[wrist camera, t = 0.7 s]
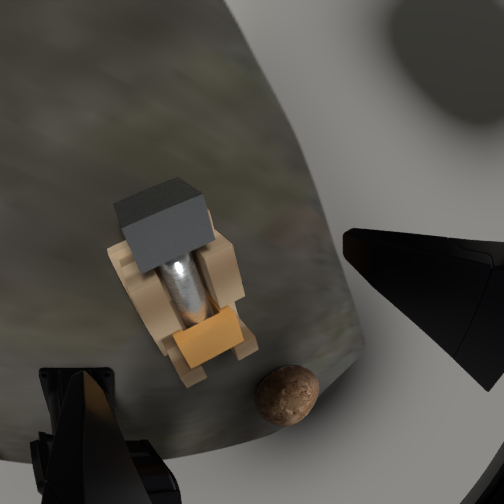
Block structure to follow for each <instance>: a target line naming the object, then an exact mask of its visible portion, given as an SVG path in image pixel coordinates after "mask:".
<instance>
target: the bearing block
mask: <svg viewBox="0 0 504 504" xmlns="http://www.w3.org/2000/svg"><path fill="white" fill-rule="evenodd" d="M207 210H208V209H207ZM208 214H209V218H210V221H211V225H212V229H213V233H214V236H215V240H214V241H212V242H210V243H208V244H205V245H203V246H201V247H199V248H197V249H194V250H192V251H191V254H192V257H193V260H194V263H195V266H196V269H197V272H198V275H199V278H200V281H201V283H202V286H203V289H204V292H205V295H206V297H207V296H208V295H210V296H211V297H212V298H213V299H214V301H215V302H216V303H217V305H218V306H219V307H220V308H223V307H225V306H227V305H228V306H229V307H230V308H231V309H232V311H233V312H234V313H235V314H236V315H237V319H238V322H239V325H240V329H241V332H242V335H243V339H244V341H242V342H241V343H239V344H237V345H235V346H233V347H232V348H230V349H231V351H232V352H233V353H234V355H235V356H236V357H237V359H238V360H241V359H243V358H244V357H246V356H248V355H250V354H251V353H253V352H255V351H257V350H258V345H257V341H256V337H255V336H254V335H253V333H252V332H251V331H250V330H249V329H248V328H247V327H246V325H245V324H244V323H243V322H242V321H241V319H240V318H239V316H238V313H237V309H236V306H235V303H234V302H235V301H236V300H238V299H240V298H242V297H244V296H245V294H244V290H243V285H242V281H241V277H240V273H239V269H238V265H237V261H236V257H235V253H234V249H233V245H232V244H231V243H230V242H229V241H228V240H226V239H225V238H224V237H223V236H222V235H221V234H220V233H218V232H217V231H216V230H215V229H214V227H213V223H212V219H211V215H210V212H209V210H208ZM107 251H108V255H109V258H110V260H111V262H112V264H113V266H114V268H115V270H116V272H117V274H118V276H119V278H120V280H121V282H122V284H123V286H124V287H125V289H126V291H127V293H128V295H129V297H130V299H131V301H132V302H133V304H134V306H135V308H136V310H137V311H138V313H139V315H140V317H141V318H142V320H143V322H144V324H145V325H146V327H147V329H148V330H149V332H150V334H151V335H152V337H153V339H154V340H155V342H156V344H157V345H158V347H159V349H160V350H161V352H162V353H163V355H164V356H167V355H169V357H170V359H171V361H172V363H173V365H174V367H175V369H176V371H177V373H178V375H179V377H180V379H181V380H182V382H183V383H184V385H185V386H186V387H187V388H188V387H190V386H192V385H194V384H196V383H198V382H200V381H202V380H204V379H206V378H208V377H207V375H206V374H205V372H204V370H203V368H202V366H201V365H198V366H196V367H194V368H192V369H191V368H190V366H189V364H188V362H187V361H186V359H185V357H184V355H183V354H182V352H181V350H180V348H179V347H178V345H177V343H176V341H175V339H174V337H173V335H172V333H174V332H176V331H178V330H180V329H182V330H183V331H185V330H187V329H186V327H185V325H184V323H183V321H182V319H181V317H180V315H179V312H178V310H177V308H176V306H175V304H174V302H173V299H172V297H171V295H170V293H169V290H168V288H167V286H166V284H165V281H164V279H163V277H162V274H161V272H160V270H159V267H155V268H153V269H151V270H149V271H147V272H145V273H143V274H141V272H140V270H139V268H138V266H137V263H136V261H135V259H134V257H133V255H132V252H131V250H130V248H129V245H128V243H127V241H126V240H125V241H122V242H120V243H118V244H116V245H114V246H112V247H110V248H107ZM207 300H208V303H209V306H210V308H211V305H210V302H209V299H208V297H207ZM211 311H212V314H213V316H214V313H213V310H212V308H211Z"/></svg>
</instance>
